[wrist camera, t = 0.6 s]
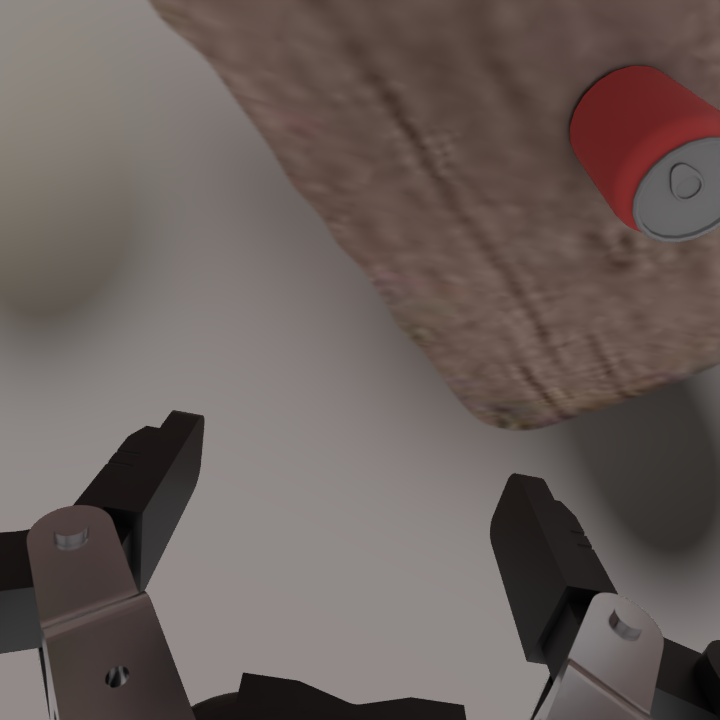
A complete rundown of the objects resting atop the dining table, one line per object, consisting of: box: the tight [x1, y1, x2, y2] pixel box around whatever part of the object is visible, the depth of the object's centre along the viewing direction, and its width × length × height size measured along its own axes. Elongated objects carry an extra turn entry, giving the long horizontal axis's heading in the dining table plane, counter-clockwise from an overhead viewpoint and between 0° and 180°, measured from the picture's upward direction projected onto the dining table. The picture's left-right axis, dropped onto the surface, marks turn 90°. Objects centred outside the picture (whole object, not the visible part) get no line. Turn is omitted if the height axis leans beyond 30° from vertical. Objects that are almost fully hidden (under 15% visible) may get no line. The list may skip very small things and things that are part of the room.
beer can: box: [570, 66, 720, 242], centre depth 29 cm, size 7×7×12 cm
